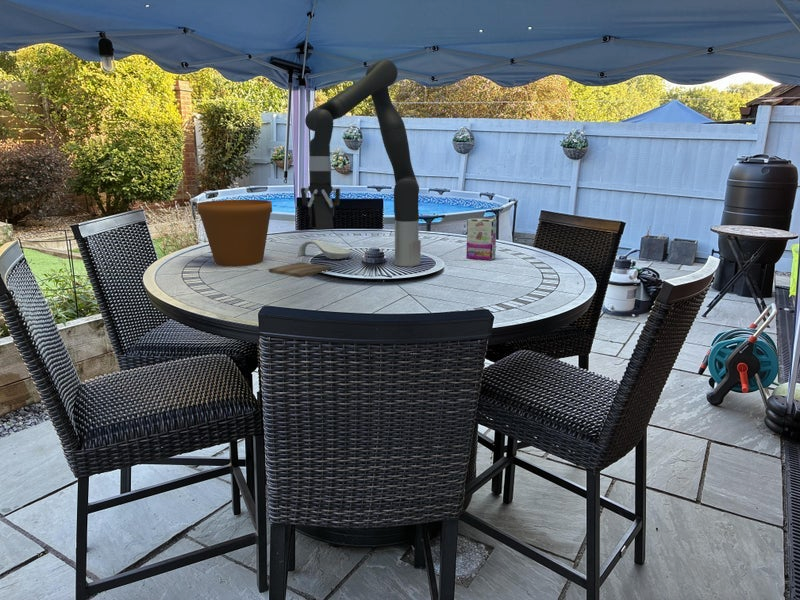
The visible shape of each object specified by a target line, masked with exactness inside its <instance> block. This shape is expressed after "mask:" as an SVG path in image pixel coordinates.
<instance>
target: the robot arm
mask: <svg viewBox="0 0 800 600" xmlns="http://www.w3.org/2000/svg"><path fill="white" fill-rule="evenodd" d="M398 74H399V73H398V68H397V66H396V64H395V63H394V62H393V61H392V60H390V59H381V60H378V61H377V62H375V63H373V64H371V65H370V66H368V68H367V70H366V72H365V76H363V77H362V78H361V79H359V80H358V81H357V82H355V83H353V84H351V85H350V86H347V87H346V88H344V89H343V90H341V91H340V92H338V93H337V94H336V95H334V96H333V97H331V98H330V99H329V100H328V101H326V102H324V103H322V104H320V105H318V106H316V107H314V108H312V109H311V110H310V111H309V112H308V113H307V114H306V116H305V120H304V123H305V126H306V127H307V128H308V130H310V131H312V132H314V135H313V138H312V139H310V141H309V162H308V170H309V171H308V172H309V185H308V187H301V188H300V194H301V195H300V196H301V200H302V205H303V206H306V207H307V210H308V211H307V212H308V216H309V219H310V218H313V213H312V203H313V201H314V195H313V194H315V195H316V194H319V195H321V196H323V198H324V199H326V201H327V202H328V204H329V206H330V208H329V212H330V214H331V212H332V217H334V216H335V207H337V206H339V205H340V198H341V197H340V196H341V188H339V187H333V185H332V160H331V140H332V135H333V130H334V120H336V119H337V120H339V119H341V118H342V117H344V116H345V115H346V114H348V113H349V112H351V111H352V110H354V109H355V108H356V107H357V106H358V105H359V104H361V103H362V102H363V101H365V100H366V99H368V98H369V97H370V96H371V100H372V103H373V105H374V108H375V113H376V118H377V122H378V125H379V131H380V134H381V139H382V143H383V146H384V150H385V153H386V154H387V156H388V159H389V161H390V164H391V168H392V169H393V170H392V171H393V176H394V177H393V178H394V183H395V185H394V187H393V215H394V265H395V266H399V267H410V268H411V267H416V266H419V265H421V249H422V248H421V247H422V246H421V245H422V244H421V243H422V241H421V240H420V239H419V230H420V229H419V220H420V219H419V218H420V217H419V214H420V213H419V193H420V186H419V185H420V184H419V182H418V181H417V178H416V175H415V173H414V172H415V171H414V169H413V164H412V161H411V152H410V146H409V139H408V135H407V131H406V126H405V122H404V120H403V119H402V116H401V115H400V113H399V112H398V111H397V109H396V108H395V106H394V105H393V102H392V100H391V96H390V92H389V87H390V86H392V85H393V84H394V83H395V82H396V80H397V78H398ZM308 192H309V193H310V194H311V196H310V198H309V201H308V196H307V194H308ZM331 193H333V194H334V195H335V197H334V202H333V200H332V197H331ZM329 195H330V198H329V197H328V196H329Z"/></svg>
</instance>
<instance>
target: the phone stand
mask: <svg viewBox="0 0 800 600" xmlns="http://www.w3.org/2000/svg"><path fill="white" fill-rule="evenodd" d="M313 195H314V201H313V203H312V213H313V218H310V217H309V227H310V228H312V229H314V230H317V231H318V230H319V231H321V230H334V220H333V216H332V212H331V214H330V212H329V208H330V206H329V204H328V202H327V201H326V199H324V198H323V196H321V195H319V194H316V195H315V194H313ZM328 197H329V198H330V197H331V194H330V195H329V196H328Z"/></svg>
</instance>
